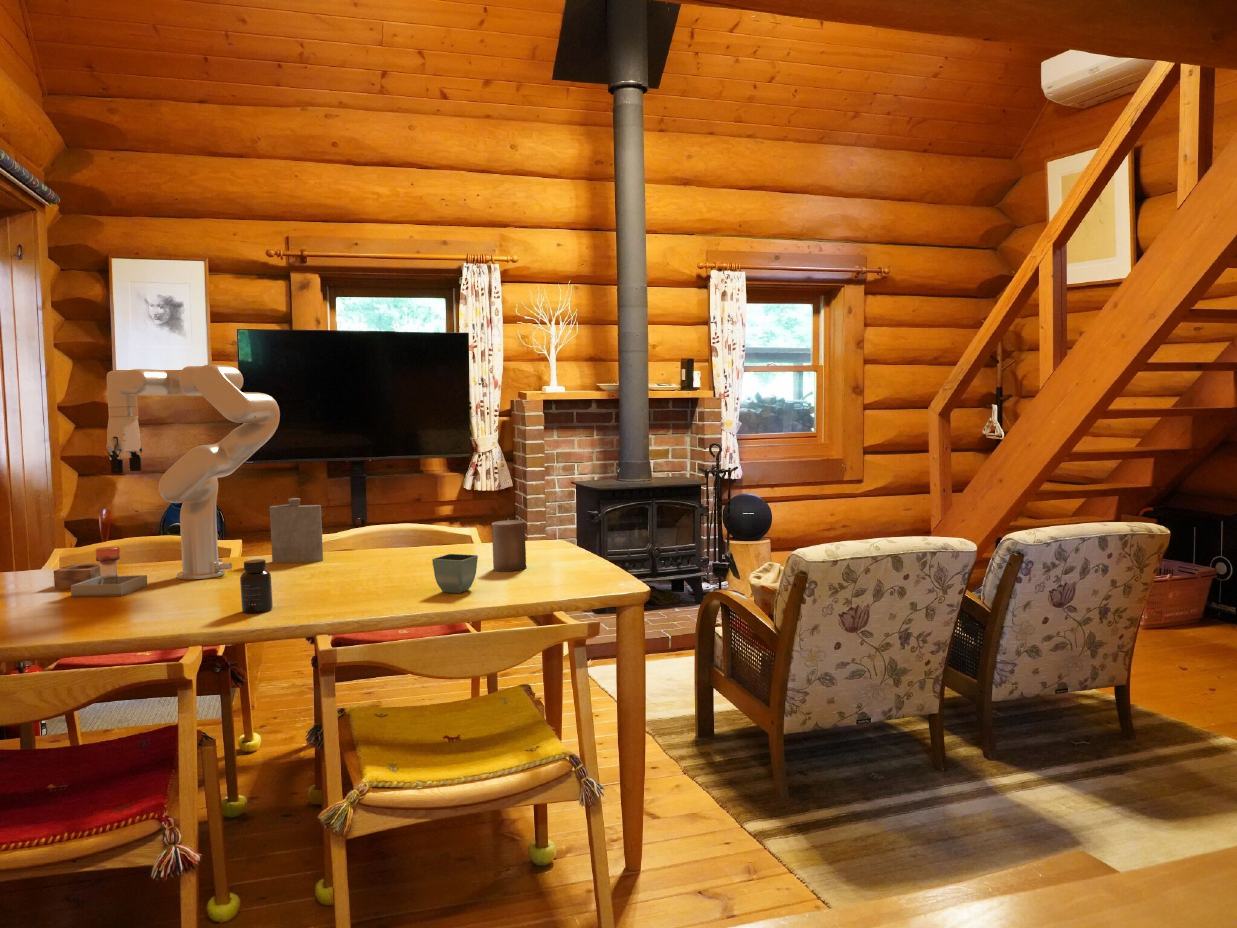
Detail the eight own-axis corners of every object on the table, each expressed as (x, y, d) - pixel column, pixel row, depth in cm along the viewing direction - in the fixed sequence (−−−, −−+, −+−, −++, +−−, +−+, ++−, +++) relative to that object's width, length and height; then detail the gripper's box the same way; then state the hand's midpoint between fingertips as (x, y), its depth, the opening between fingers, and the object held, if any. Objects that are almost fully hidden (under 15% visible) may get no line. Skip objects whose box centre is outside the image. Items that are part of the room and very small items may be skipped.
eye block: (112, 580, 254) (110, 563, 254) (91, 588, 244) (90, 570, 244) (76, 581, 254) (75, 564, 254) (54, 588, 244) (53, 570, 244)
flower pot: (479, 588, 233) (478, 554, 233) (463, 595, 225) (462, 560, 224) (449, 587, 236) (448, 553, 236) (432, 594, 228) (431, 559, 227)
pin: (104, 586, 242) (102, 546, 241) (125, 586, 242) (123, 546, 241) (93, 591, 236) (91, 550, 235) (115, 591, 237) (113, 550, 236)
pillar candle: (533, 567, 263) (531, 516, 262) (512, 572, 255) (510, 520, 254) (507, 565, 268) (505, 515, 267) (485, 570, 260) (484, 518, 259)
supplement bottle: (247, 608, 216) (244, 558, 215) (276, 607, 216) (274, 557, 215) (237, 614, 209) (235, 563, 208) (267, 613, 209) (265, 562, 209)
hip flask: (324, 559, 283) (322, 497, 282) (320, 562, 279) (317, 498, 278) (274, 560, 283) (271, 497, 282) (269, 563, 279) (266, 499, 278)
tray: (147, 585, 246) (146, 575, 246) (121, 596, 233) (120, 584, 233) (100, 586, 246) (99, 576, 246) (71, 597, 233) (70, 585, 233)
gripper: (126, 413, 269) (129, 470, 270) (93, 413, 252) (96, 474, 253) (151, 412, 269) (154, 469, 270) (120, 413, 252) (123, 474, 253)
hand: (126, 472), depth 261 cm, fingers open, 9 cm apart
